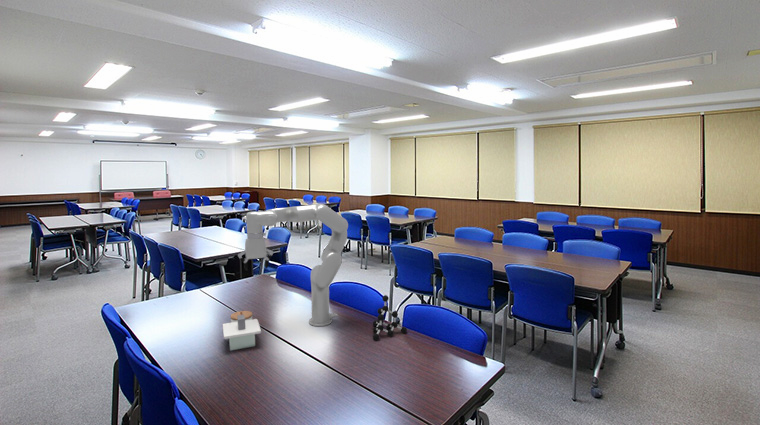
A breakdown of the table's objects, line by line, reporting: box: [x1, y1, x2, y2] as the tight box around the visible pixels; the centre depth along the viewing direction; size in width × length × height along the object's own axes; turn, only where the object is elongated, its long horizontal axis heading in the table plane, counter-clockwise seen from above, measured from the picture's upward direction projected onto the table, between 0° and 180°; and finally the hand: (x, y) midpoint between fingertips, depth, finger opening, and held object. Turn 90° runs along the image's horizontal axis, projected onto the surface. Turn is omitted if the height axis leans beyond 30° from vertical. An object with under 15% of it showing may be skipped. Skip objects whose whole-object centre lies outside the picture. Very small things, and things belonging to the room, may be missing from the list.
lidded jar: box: [230, 310, 253, 323], centre depth 195 cm, size 11×11×9 cm
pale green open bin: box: [228, 334, 256, 351], centre depth 178 cm, size 11×11×7 cm
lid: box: [222, 315, 262, 340], centre depth 178 cm, size 16×16×6 cm
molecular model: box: [372, 294, 408, 341], centre depth 189 cm, size 18×20×20 cm
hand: (256, 269), depth 191 cm, fingers open, 9 cm apart
